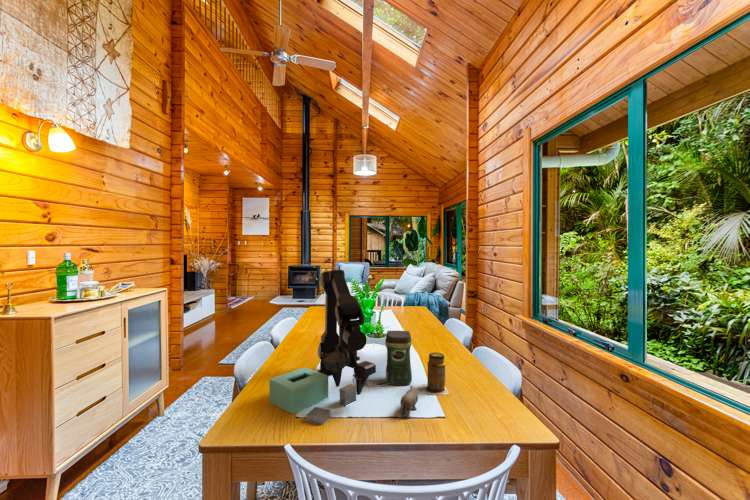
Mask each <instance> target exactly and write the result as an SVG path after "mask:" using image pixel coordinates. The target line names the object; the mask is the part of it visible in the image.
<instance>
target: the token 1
mask: <svg viewBox="0 0 750 500" xmlns="http://www.w3.org/2000/svg"><path fill="white" fill-rule="evenodd" d="M329 417H330V418H331V409H328V408H324V407H317V406H314V407H313V408H311V410H310V411H309V412H308V413H307V414H306V416H305V422H306V423H308V424H314V425H317V426H318V425H319V426H323V425H324V424H325V423H326V422H327V421H328V420H329V419H330V418H329Z"/></svg>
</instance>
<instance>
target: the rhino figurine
mask: <svg viewBox="0 0 750 500" xmlns="http://www.w3.org/2000/svg"><path fill="white" fill-rule="evenodd" d="M419 390H421V387H417V388H415V387H413V385H410V388H409V389H408V390H407V391H406V393H405V394H403V395H402V396H401V398H400V406H401V412H400V415H401V416H405V418H406V420H407V419H411V415H410V413H411V411H412V410H413V411H417V407H416V404H417V402H418V399H419V395H418V391H419ZM405 410H406V412H405Z"/></svg>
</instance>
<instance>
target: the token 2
mask: <svg viewBox="0 0 750 500" xmlns="http://www.w3.org/2000/svg"><path fill="white" fill-rule="evenodd" d="M354 401H356V402H357V391H356V385H355V384H352V383H349V384H347V385H345V386H342V387H340V388H339V405H340V404H341V406H342V405H343V407H347V406H346V405H348V404H350V403H352V402H354ZM354 403H355V402H354ZM352 404H353V403H352ZM350 405H351V404H350ZM348 406H349V405H348Z"/></svg>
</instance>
